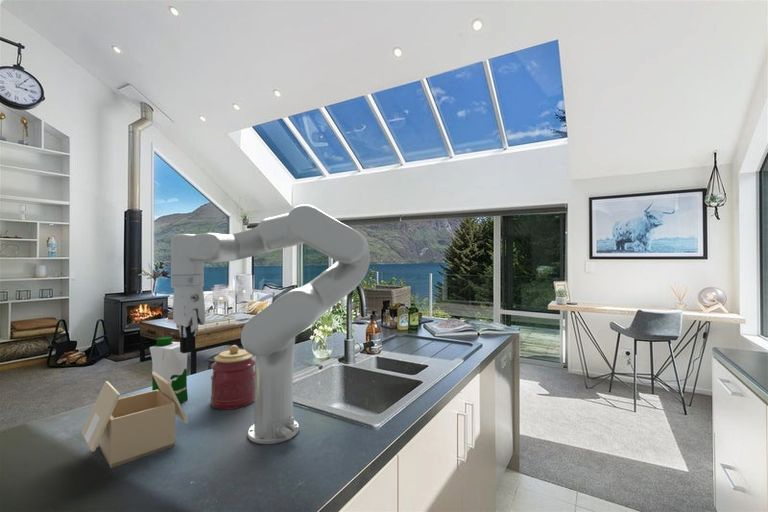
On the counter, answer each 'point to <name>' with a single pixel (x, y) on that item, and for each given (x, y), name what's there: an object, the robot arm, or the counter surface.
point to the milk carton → (170, 366)
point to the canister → (233, 379)
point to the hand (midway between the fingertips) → (187, 351)
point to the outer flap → (100, 415)
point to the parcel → (138, 428)
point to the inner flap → (170, 395)
